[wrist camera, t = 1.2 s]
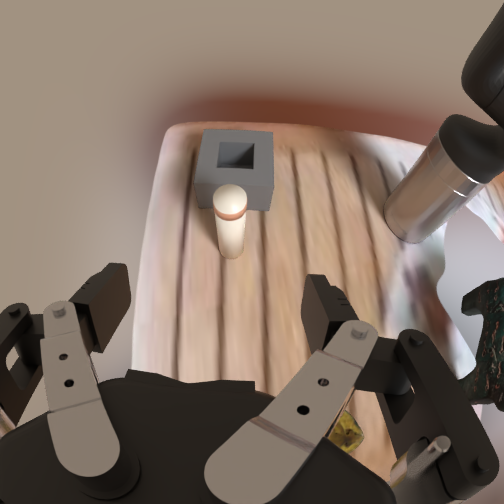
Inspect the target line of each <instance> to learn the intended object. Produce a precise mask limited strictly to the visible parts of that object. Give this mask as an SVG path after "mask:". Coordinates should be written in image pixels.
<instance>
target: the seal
mask: <svg viewBox="0 0 504 504" xmlns="http://www.w3.org/2000/svg"><path fill="white" fill-rule="evenodd" d="M328 439H329V440H331V441H332V442H333V443H335V444H336V445H337V446H338V447H340V448H341V449H342V450H344V451H345V452H346V453H348V454H349V453H351V452H352V451H353V450H354V449H356V448H357V447H358V446H359V445H360V443H361V442H362V441H363V439H364V435H363V432H362V430H361V428H360V427H359V426H358V424H357V422H356V421H355V419H354V418H353V417H352V416H351V415H350V414H349V413H348V412H347V411H346V410H345V411H344V412H343V414H342V416H341V418H340V419H339V421H338V423H337V424H336V426H335V428H334V430H333V431H332V433H331V435H330V437H329V438H328Z"/></svg>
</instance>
